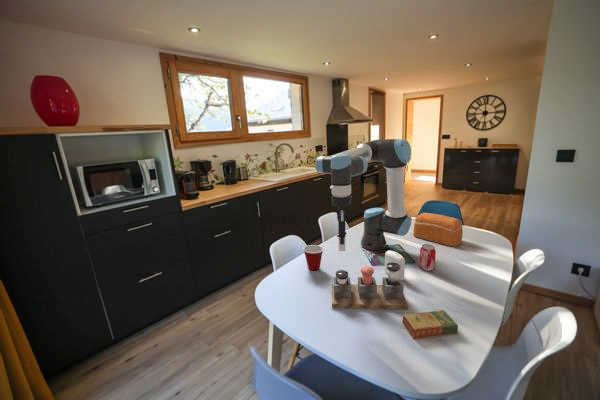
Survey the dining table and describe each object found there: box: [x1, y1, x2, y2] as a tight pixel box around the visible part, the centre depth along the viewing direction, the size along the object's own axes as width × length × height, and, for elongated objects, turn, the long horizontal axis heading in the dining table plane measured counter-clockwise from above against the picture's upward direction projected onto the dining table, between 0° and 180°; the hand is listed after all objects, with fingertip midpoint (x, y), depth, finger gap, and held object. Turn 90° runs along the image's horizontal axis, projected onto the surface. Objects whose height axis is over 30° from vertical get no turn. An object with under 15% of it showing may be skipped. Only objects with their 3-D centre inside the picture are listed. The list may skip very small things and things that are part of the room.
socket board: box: [331, 276, 409, 311], centre depth 112 cm, size 30×14×8 cm, turn 84°
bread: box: [412, 212, 463, 248], centre depth 165 cm, size 14×26×16 cm, turn 41°
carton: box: [402, 309, 459, 340], centre depth 94 cm, size 8×16×4 cm, turn 96°
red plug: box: [360, 265, 375, 285], centre depth 111 cm, size 5×5×9 cm
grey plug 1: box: [335, 269, 349, 285], centre depth 113 cm, size 5×5×9 cm
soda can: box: [418, 243, 437, 272], centre depth 132 cm, size 7×7×12 cm
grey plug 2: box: [387, 262, 400, 285], centre depth 109 cm, size 5×5×9 cm
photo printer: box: [384, 250, 406, 281], centre depth 127 cm, size 10×4×12 cm, turn 26°
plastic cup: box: [302, 244, 325, 273], centre depth 138 cm, size 11×11×12 cm
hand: (342, 250), depth 109 cm, fingers closed
